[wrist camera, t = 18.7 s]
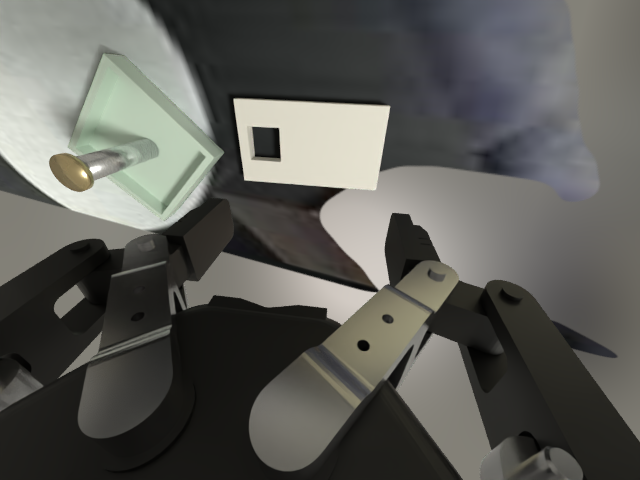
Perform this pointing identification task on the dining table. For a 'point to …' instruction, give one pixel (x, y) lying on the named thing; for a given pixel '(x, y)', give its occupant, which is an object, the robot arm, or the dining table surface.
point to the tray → (144, 136)
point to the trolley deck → (314, 142)
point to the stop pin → (100, 163)
